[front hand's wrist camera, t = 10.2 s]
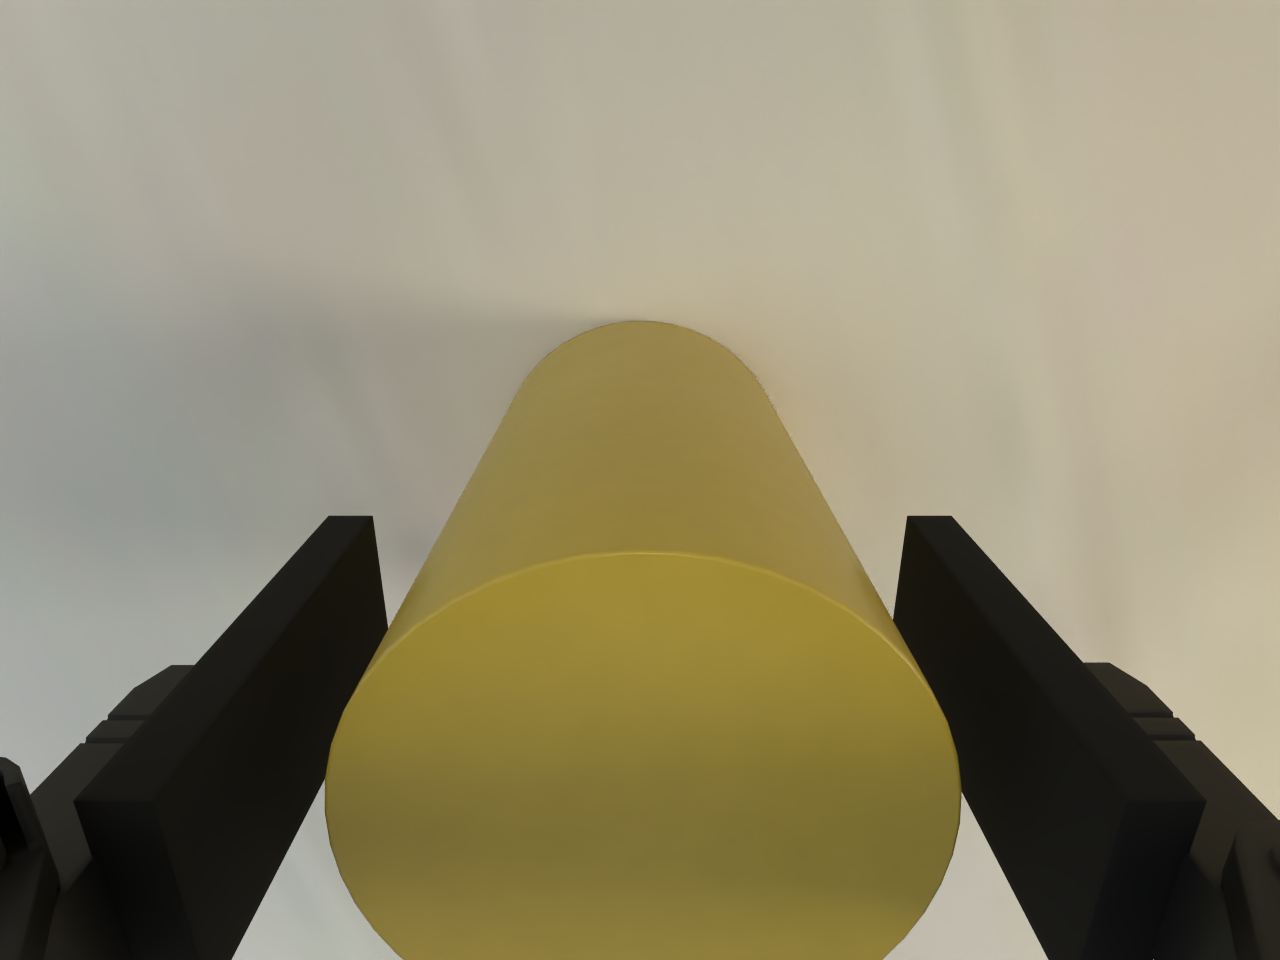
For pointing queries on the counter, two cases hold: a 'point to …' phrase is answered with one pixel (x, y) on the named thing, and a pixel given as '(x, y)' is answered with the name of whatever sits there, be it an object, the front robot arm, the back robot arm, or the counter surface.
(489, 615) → the tin
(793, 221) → the counter surface
